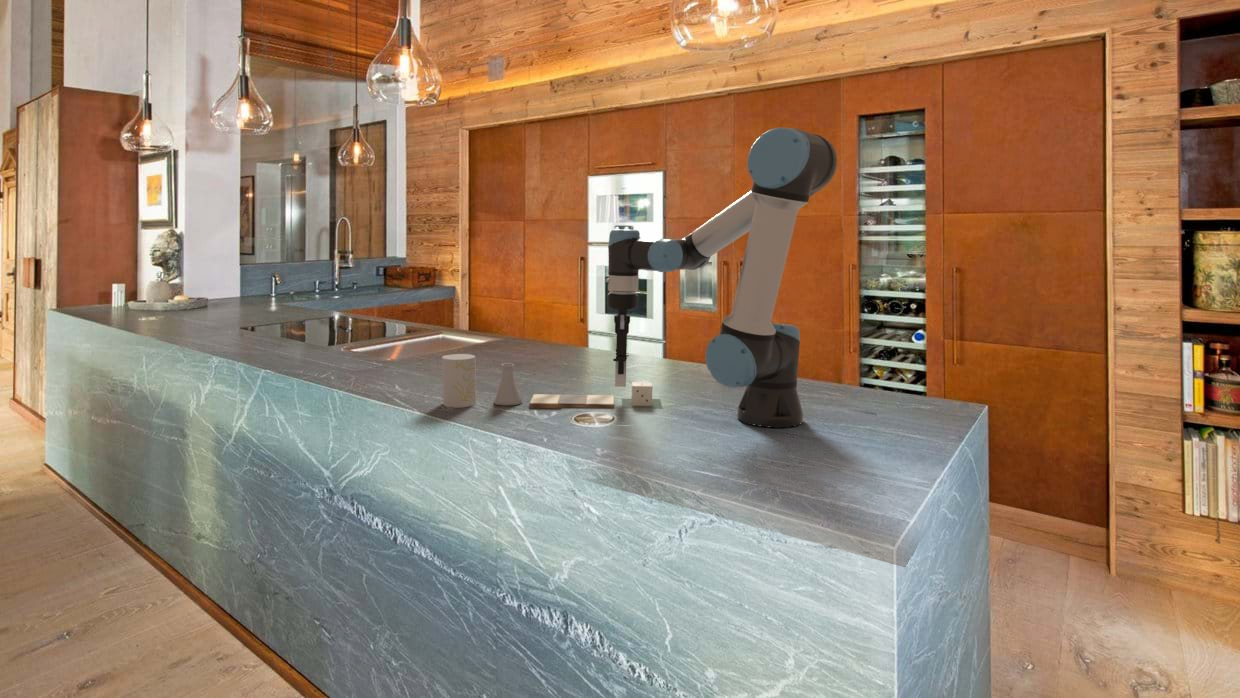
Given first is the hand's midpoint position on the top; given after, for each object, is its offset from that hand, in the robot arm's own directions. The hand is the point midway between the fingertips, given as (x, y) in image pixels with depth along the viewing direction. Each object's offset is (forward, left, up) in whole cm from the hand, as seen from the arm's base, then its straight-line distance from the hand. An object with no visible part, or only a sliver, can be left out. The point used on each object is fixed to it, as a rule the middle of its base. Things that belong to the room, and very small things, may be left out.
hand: (620, 383), depth 177 cm
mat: (-5, -3, -5) cm, 8 cm away
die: (-5, -3, -5) cm, 7 cm away
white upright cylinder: (+32, +25, -5) cm, 41 cm away
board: (+10, +7, -5) cm, 13 cm away
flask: (+23, +17, -5) cm, 29 cm away
